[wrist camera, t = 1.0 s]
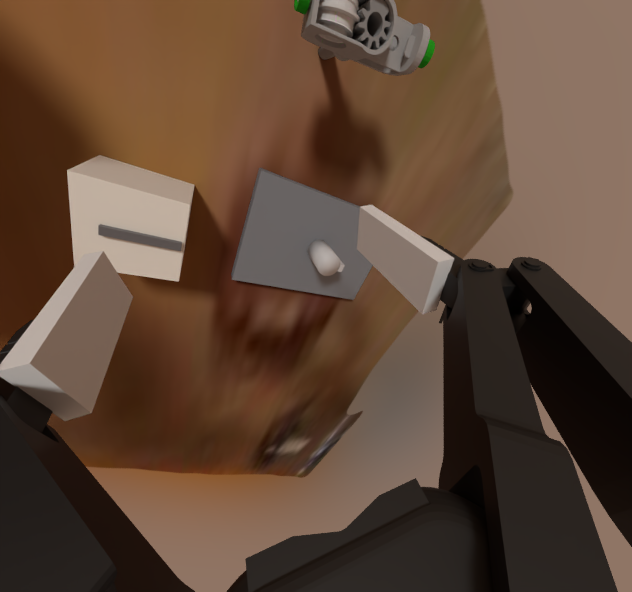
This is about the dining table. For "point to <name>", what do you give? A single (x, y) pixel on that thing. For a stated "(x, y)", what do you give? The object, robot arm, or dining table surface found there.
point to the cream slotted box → (129, 217)
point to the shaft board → (300, 240)
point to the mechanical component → (366, 34)
